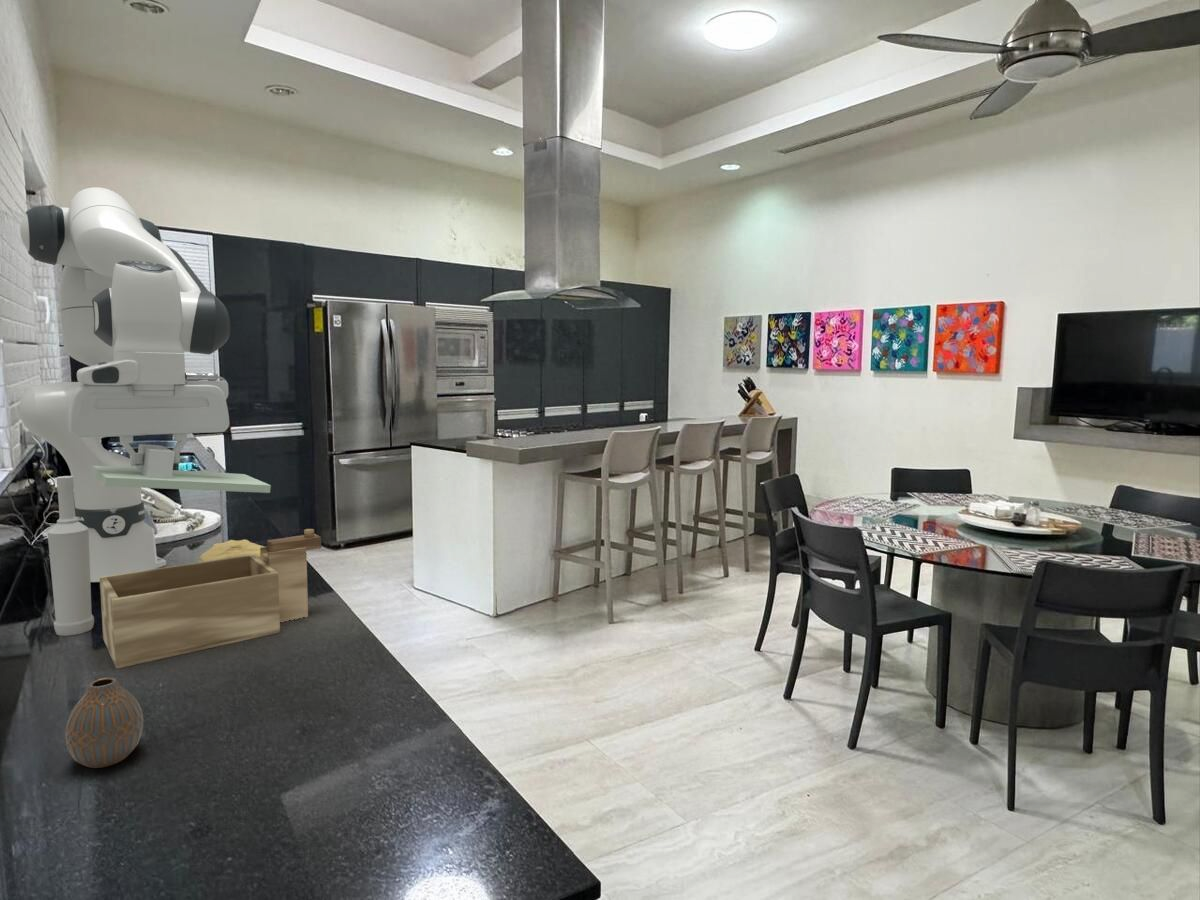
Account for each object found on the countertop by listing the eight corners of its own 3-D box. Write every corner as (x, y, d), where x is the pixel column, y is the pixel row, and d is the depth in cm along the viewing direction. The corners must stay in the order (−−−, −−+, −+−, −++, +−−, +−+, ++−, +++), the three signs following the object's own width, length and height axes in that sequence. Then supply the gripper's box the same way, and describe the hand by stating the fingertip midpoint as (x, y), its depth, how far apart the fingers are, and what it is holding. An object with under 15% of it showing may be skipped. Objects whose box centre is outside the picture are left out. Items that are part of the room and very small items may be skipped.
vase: (159, 748, 78) (155, 674, 77) (97, 782, 71) (92, 701, 70) (115, 736, 80) (111, 664, 79) (51, 768, 74) (46, 690, 73)
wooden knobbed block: (267, 551, 118) (266, 533, 117) (315, 544, 123) (314, 527, 123) (272, 555, 116) (272, 536, 115) (321, 548, 121) (320, 530, 121)
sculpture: (206, 611, 121) (203, 551, 120) (191, 594, 130) (188, 538, 129) (275, 598, 129) (273, 542, 127) (256, 582, 138) (255, 529, 136)
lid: (92, 473, 105) (96, 439, 105) (243, 481, 120) (247, 451, 119) (104, 486, 94) (109, 448, 94) (269, 492, 109) (273, 460, 109)
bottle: (72, 637, 108) (62, 480, 105) (45, 634, 109) (34, 478, 106) (102, 626, 113) (93, 475, 110) (76, 623, 114) (66, 473, 111)
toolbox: (103, 638, 108) (98, 563, 107) (289, 602, 127) (287, 537, 125) (116, 668, 98) (111, 585, 96) (317, 624, 116) (315, 553, 115)
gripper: (222, 372, 112) (225, 457, 114) (63, 370, 98) (69, 466, 100) (233, 373, 107) (236, 462, 109) (67, 371, 94) (74, 472, 95)
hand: (155, 464), depth 104 cm, fingers closed on lid, 3 cm apart
